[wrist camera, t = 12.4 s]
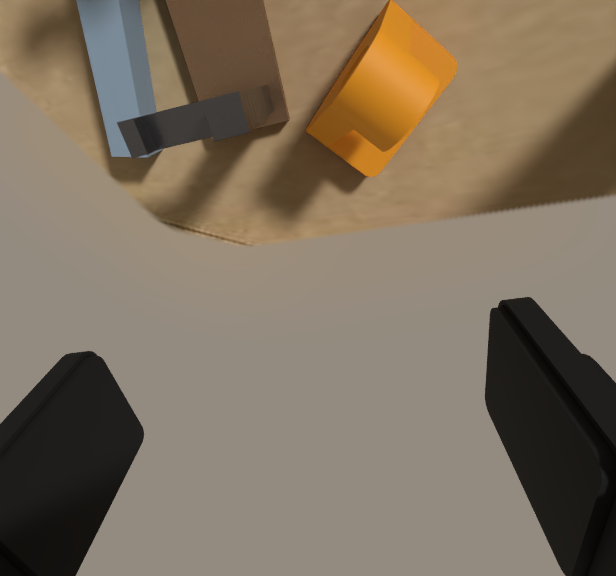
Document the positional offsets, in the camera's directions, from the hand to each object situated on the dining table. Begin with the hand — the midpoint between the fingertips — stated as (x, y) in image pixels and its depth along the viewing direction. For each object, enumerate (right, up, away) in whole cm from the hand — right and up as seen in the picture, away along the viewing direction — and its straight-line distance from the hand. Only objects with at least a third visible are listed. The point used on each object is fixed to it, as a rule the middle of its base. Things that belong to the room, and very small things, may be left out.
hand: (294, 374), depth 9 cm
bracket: (+6, +19, +24) cm, 31 cm away
